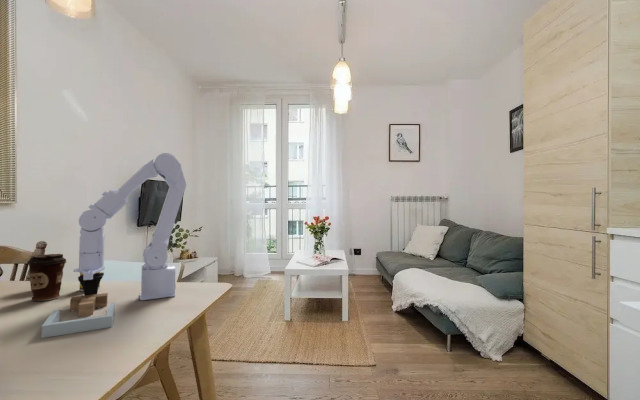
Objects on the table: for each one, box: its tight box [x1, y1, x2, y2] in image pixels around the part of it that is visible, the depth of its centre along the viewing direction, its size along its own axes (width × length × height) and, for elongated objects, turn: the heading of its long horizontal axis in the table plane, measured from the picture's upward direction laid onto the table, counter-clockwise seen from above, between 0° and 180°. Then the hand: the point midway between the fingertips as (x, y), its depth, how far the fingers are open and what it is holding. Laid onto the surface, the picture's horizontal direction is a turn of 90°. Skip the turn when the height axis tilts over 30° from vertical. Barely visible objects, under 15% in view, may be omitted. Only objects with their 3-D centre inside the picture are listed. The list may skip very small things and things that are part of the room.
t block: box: [69, 292, 109, 317], centre depth 83 cm, size 9×8×3 cm
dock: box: [41, 302, 116, 339], centre depth 74 cm, size 11×12×2 cm
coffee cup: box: [26, 253, 67, 302], centre depth 93 cm, size 9×8×13 cm
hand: (90, 300), depth 88 cm, fingers closed
